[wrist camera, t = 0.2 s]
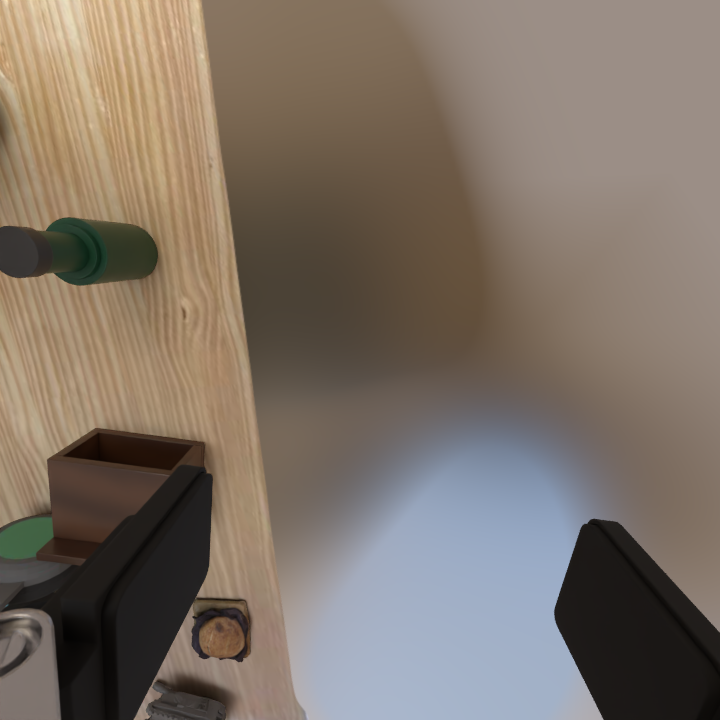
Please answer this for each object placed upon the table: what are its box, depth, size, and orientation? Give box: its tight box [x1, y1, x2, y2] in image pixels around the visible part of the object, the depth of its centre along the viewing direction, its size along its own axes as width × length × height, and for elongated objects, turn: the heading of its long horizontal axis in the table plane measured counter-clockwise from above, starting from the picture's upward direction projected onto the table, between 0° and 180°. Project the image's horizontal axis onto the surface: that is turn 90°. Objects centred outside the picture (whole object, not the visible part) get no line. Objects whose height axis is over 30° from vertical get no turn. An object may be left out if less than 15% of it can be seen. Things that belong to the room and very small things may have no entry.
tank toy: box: [145, 682, 226, 720], centre depth 60 cm, size 12×10×5 cm
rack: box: [36, 428, 205, 566], centre depth 47 cm, size 11×14×10 cm
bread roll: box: [192, 599, 250, 662], centre depth 57 cm, size 11×8×4 cm
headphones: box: [0, 514, 80, 613], centre depth 47 cm, size 19×11×20 cm, turn 167°
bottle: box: [0, 218, 158, 286], centre depth 38 cm, size 6×6×16 cm
